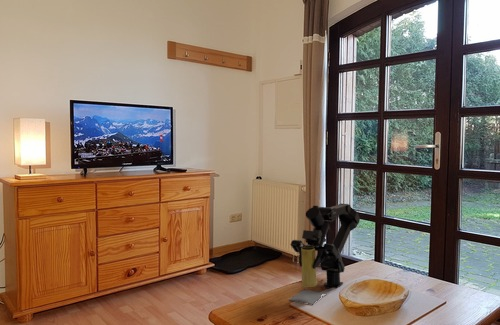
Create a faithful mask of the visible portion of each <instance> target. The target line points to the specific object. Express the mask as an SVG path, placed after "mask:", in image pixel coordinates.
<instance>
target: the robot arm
mask: <svg viewBox="0 0 500 325" xmlns="http://www.w3.org/2000/svg"><path fill="white" fill-rule="evenodd" d="M305 217H306V219H307V220H308V222H309V223H310V225H311V226H312V227H313V229H312V230H307V229H303V231H302V237H301V238H302V239H304V240H305V243H303V241H302V240H299V239H293V240H292V241H290V246H291V248H292V250H293V251H294V252H296V253H298V254H299V266H300V268H302V254H301V248H302V247H314V248H315V252H317V253H316V254H317V255H315V262H314V264H313V269H315V268H318V267H319V266H320V267H321V271H325V272H326V273H325V275H326V282H325V283H323V286H327V287H332V288H336V287H338V288H339V287H340V286H342V285H343V284H344V282H343V281H341V273H344V271H345V264H344V262H343V259H342V255H341V254H342V253H343V249H344V247H345V245H346V243H347V240H348V238H349V235H350V233H351V232H352V231H353V230H355V229H356V228H357V226H359V223H360V220H361V219H360V218H361V217H360V215H359V213H358V211H357V210H355V209H354V208H352V206H351V204H349V203H339V204H336V205H333V206H330V207H325V206H319V205H312V207H310V208H308V209H307V210H306V211H305ZM337 217H338V219H339V223H340V227H339V229H338V231H337V233H336V235H335V238H334V239H333V242H332V243H326V241H327V237H326V236H327V233H328V231H331V227H330V224H329V222H334V221H335V220H336V219H337ZM306 243H307V244H306Z"/></svg>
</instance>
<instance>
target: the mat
mask: <svg viewBox="0 0 500 325" xmlns="http://www.w3.org/2000/svg"><path fill="white" fill-rule="evenodd" d="M325 293H326V292H321V291H316V290H310V289H303V290H302V291H300V292H298V293H297V294H295V295H293V296H292V297H290V298H289V301H290V302H295V303H299V302H303V303H302V304H304V303H308V304H307V305H309V304H314V303H315V302H316V301H318V300H319V299H320V298H321V295H322V294H325ZM322 297H323V296H322ZM323 298H324V297H323ZM320 300H321V299H320ZM320 300H319V301H320ZM319 301H318V302H319ZM316 303H317V302H316ZM316 303H315V304H316ZM315 304H314V305H315Z"/></svg>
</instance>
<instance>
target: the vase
mask: <svg viewBox="0 0 500 325" xmlns="http://www.w3.org/2000/svg"><path fill="white" fill-rule="evenodd" d="M301 254H302V267H301V285H302V286H303V287H305V288H306V287H307V288H312V287H313V288H314V287H316V286H317V285H318V277H317V269H316V268H317V267H316V268H315V269H313V264H314V262H315V259H316V251H315V248H314V247H302V248H301Z"/></svg>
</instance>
